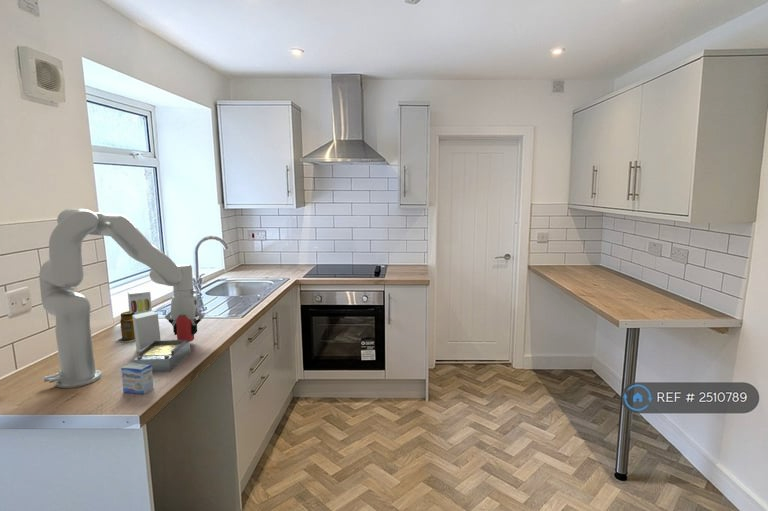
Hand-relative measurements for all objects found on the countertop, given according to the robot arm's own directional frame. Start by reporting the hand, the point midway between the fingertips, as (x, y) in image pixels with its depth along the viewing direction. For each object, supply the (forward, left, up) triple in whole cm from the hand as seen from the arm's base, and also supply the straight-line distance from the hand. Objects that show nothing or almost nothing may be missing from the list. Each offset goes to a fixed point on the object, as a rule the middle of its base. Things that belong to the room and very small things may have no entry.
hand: (185, 333), depth 172 cm
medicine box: (-25, -32, -5) cm, 41 cm away
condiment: (-16, +26, -5) cm, 31 cm away
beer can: (0, 0, -3) cm, 3 cm away
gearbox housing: (-12, -13, -5) cm, 18 cm away
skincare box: (-13, +5, -5) cm, 15 cm away
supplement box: (-6, +47, -5) cm, 48 cm away
